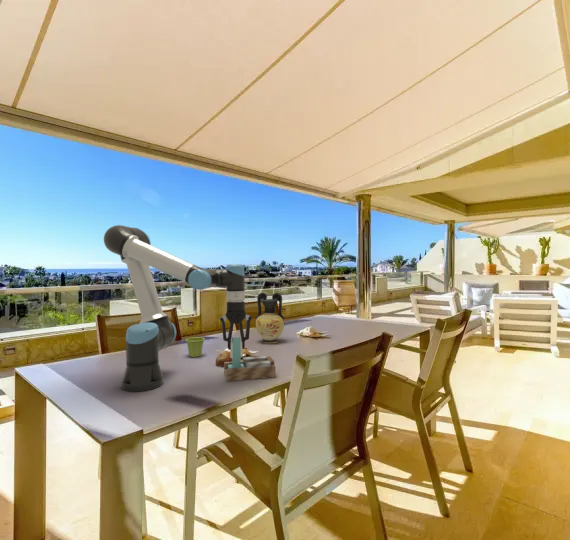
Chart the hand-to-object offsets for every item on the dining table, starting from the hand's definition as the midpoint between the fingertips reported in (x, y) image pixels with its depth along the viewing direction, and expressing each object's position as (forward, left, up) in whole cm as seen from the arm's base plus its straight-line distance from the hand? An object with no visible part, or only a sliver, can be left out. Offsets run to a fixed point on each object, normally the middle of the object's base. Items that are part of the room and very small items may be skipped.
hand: (236, 356), depth 146 cm
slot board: (+5, 0, -8) cm, 10 cm away
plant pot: (-17, +39, -8) cm, 43 cm away
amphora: (+27, +60, -8) cm, 67 cm away
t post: (0, 0, -6) cm, 6 cm away
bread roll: (-2, +19, -8) cm, 21 cm away
